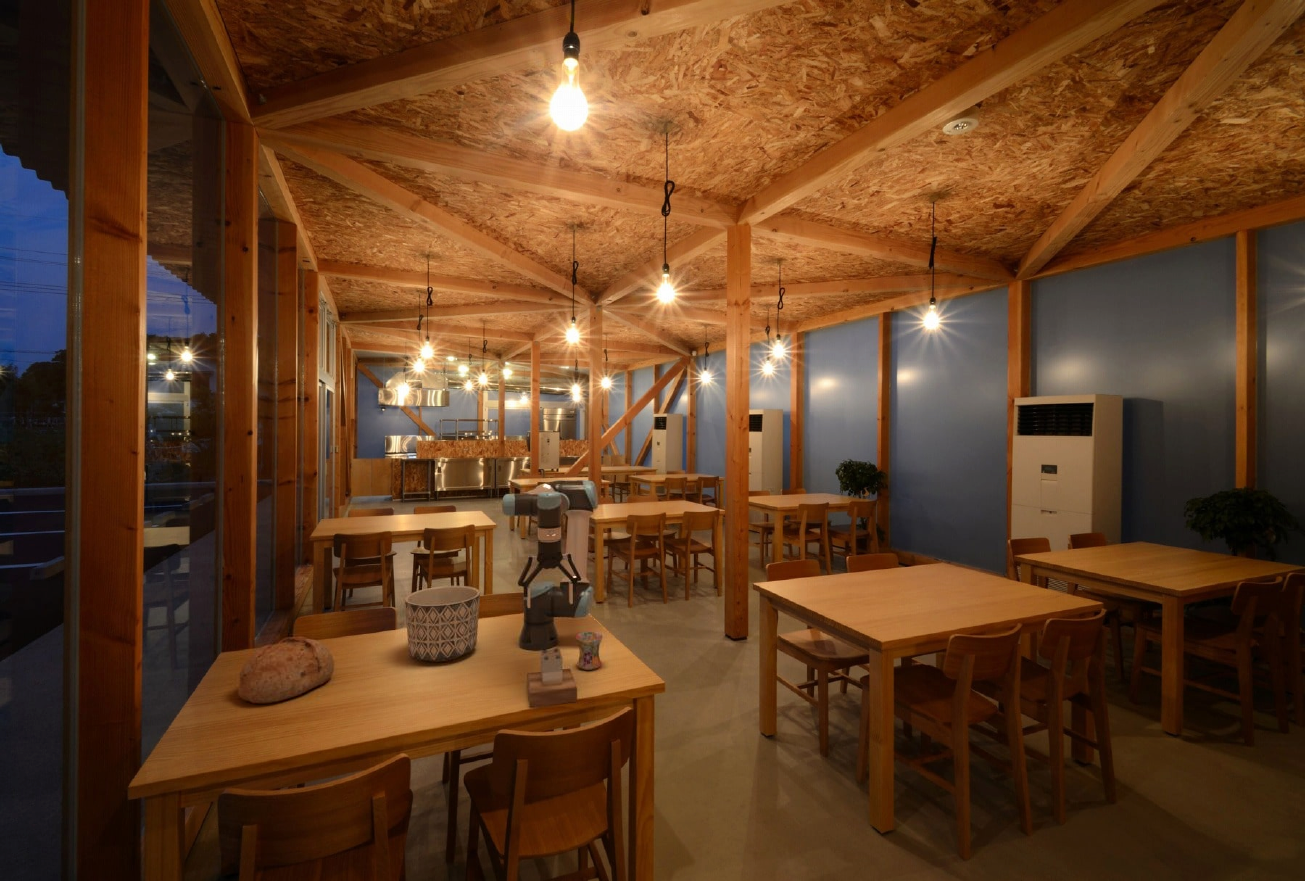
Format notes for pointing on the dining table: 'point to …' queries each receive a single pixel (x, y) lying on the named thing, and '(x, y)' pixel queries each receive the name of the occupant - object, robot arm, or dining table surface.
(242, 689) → the bread
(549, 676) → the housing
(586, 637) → the mug
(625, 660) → the dining table surface
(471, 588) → the planter
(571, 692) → the stand
